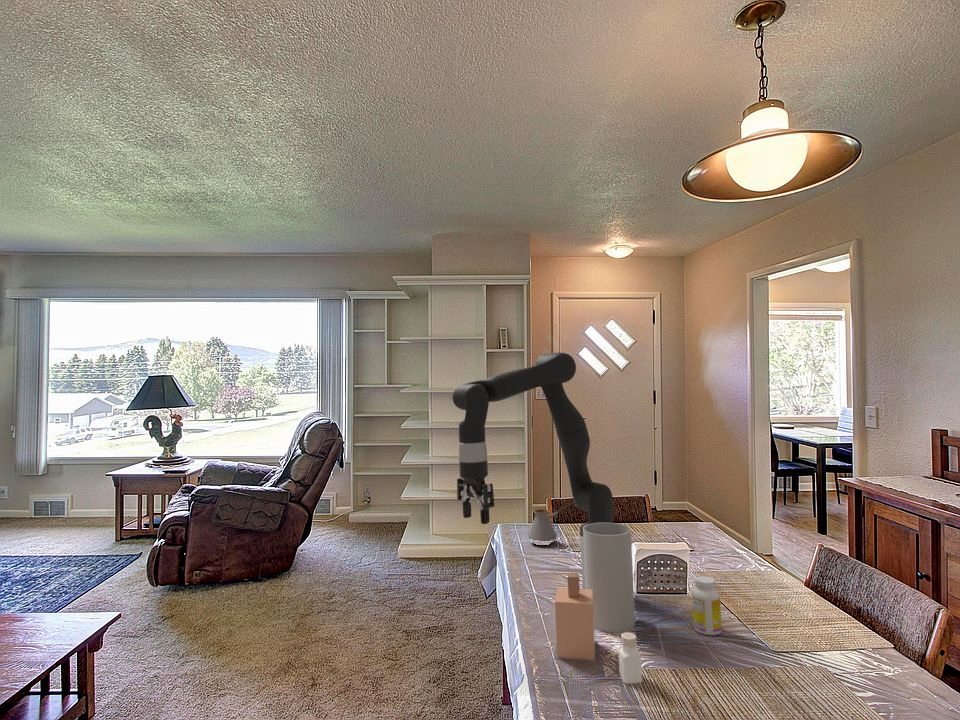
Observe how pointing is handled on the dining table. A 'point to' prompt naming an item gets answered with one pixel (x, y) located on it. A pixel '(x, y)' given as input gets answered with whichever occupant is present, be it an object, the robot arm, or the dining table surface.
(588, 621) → the orange square bottle
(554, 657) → the mat
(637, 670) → the salt shaker
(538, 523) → the coffee pot
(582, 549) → the robot arm
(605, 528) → the cylinder vase
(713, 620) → the supplement bottle
